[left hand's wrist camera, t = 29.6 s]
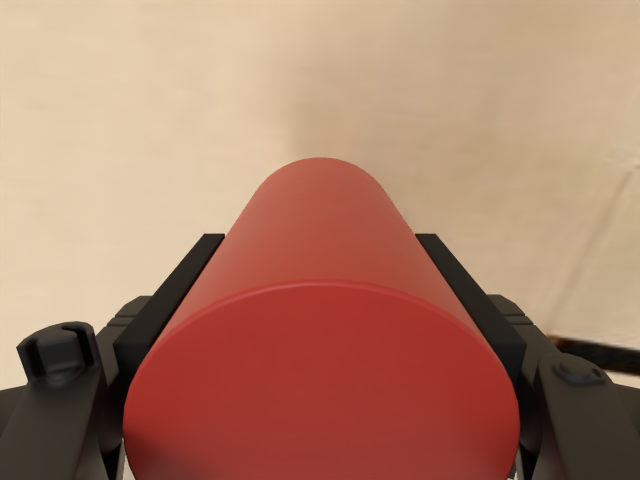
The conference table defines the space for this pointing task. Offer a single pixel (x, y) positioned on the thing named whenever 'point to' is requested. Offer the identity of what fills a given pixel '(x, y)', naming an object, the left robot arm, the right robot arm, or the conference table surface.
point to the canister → (321, 352)
